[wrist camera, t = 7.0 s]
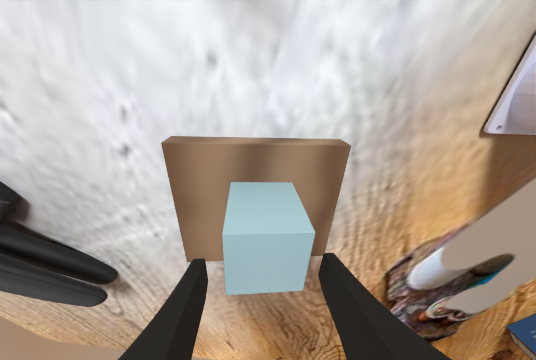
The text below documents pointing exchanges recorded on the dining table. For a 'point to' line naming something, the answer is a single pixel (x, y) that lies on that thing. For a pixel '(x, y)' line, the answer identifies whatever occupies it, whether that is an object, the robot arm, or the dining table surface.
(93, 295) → the can opener
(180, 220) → the walnut block
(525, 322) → the protein box
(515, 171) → the dining table surface
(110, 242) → the dining table surface
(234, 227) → the blue block
